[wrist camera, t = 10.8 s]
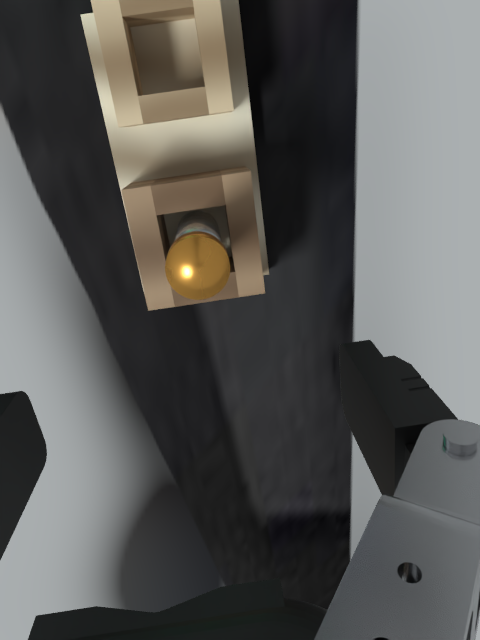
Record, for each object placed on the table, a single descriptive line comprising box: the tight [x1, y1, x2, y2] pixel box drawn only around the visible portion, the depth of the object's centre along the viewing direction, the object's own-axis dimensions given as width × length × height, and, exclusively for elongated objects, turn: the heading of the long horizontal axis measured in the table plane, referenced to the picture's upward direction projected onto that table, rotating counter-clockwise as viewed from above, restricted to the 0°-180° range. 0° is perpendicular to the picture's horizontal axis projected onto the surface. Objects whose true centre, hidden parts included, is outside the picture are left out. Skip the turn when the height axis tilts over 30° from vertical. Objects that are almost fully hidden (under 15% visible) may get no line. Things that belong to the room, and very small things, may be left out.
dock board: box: [81, 0, 269, 311], centre depth 30 cm, size 18×10×5 cm, turn 8°
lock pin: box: [165, 210, 230, 300], centre depth 29 cm, size 3×3×10 cm
